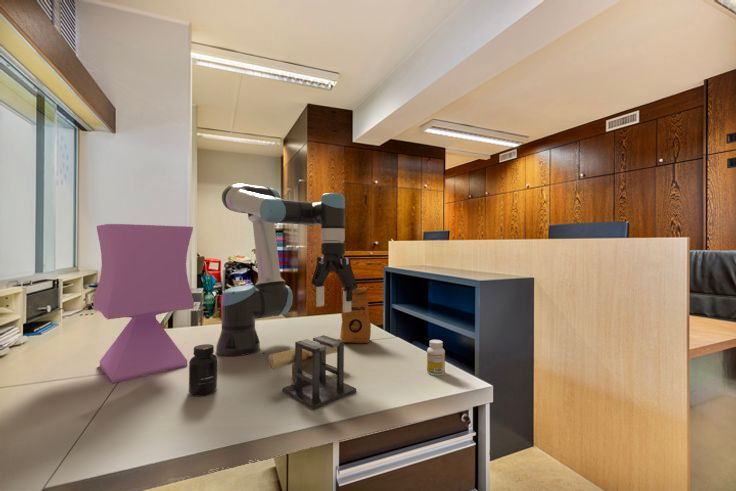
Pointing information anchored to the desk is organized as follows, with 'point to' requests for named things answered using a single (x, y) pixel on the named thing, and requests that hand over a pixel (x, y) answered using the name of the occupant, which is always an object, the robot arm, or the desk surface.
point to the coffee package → (356, 318)
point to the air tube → (292, 357)
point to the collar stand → (319, 374)
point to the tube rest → (303, 368)
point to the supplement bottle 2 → (436, 358)
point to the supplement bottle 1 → (203, 371)
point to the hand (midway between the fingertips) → (333, 309)
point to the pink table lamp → (142, 295)
